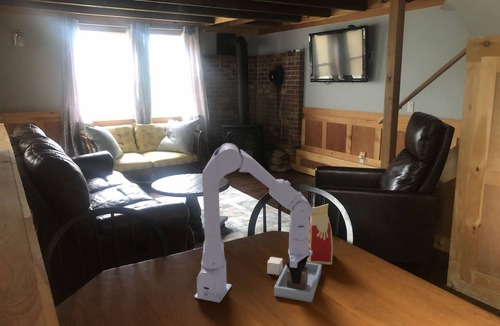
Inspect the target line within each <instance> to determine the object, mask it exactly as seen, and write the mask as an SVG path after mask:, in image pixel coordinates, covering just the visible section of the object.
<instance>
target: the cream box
mask: <svg viewBox="0 0 500 326" xmlns="http://www.w3.org/2000/svg"><path fill="white" fill-rule="evenodd" d="M266 270H267V271H266V274H270V275H274V274H275V276H280V275H281V273H282V271H283V258H281V257H275V256H270V257H269V259H268V260H267V269H266Z"/></svg>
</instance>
